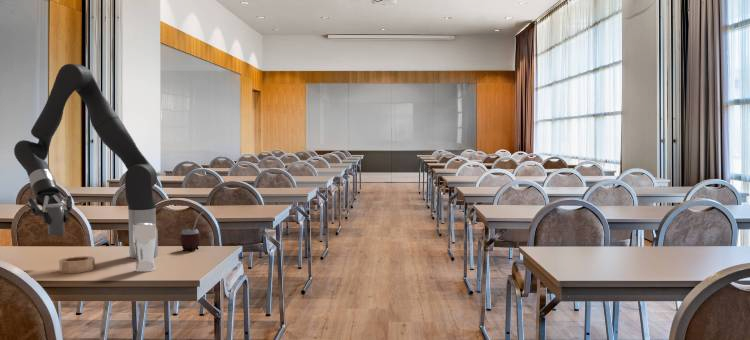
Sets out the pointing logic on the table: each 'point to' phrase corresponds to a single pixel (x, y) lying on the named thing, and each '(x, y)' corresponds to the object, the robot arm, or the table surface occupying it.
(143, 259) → the beer glass
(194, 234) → the mate gourd
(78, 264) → the wooden polygonal ring
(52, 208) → the plug
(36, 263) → the table surface
